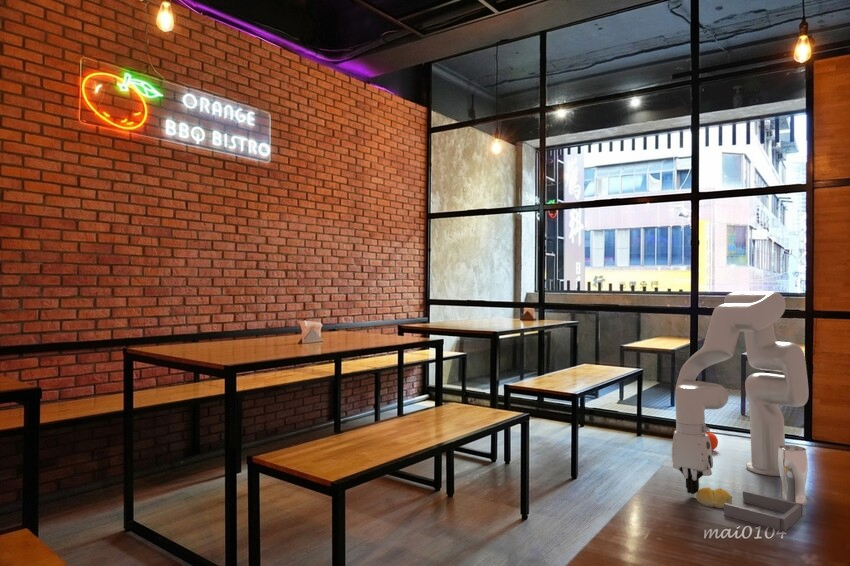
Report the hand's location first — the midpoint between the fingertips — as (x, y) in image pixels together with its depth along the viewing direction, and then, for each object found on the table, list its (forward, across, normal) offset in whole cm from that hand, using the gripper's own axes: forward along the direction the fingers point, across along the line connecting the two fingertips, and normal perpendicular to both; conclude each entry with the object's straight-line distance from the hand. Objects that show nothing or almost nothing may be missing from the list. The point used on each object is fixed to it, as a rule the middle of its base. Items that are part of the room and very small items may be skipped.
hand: (692, 492), depth 159 cm
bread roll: (+2, -6, 0) cm, 6 cm away
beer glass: (+2, -20, -16) cm, 26 cm away
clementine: (+1, +17, -50) cm, 53 cm away
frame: (+1, -18, 0) cm, 18 cm away
